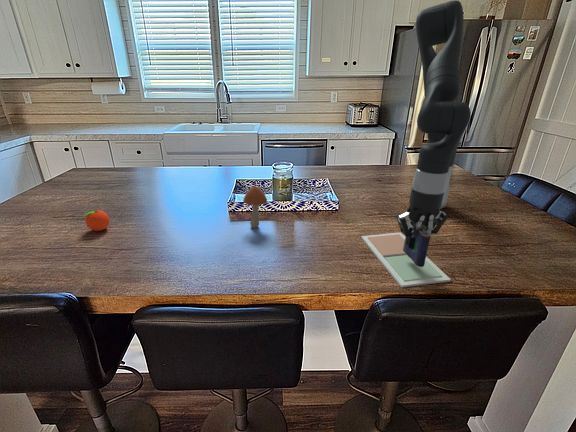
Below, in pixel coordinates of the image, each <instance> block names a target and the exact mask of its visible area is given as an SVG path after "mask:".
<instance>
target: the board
mask: <svg viewBox="0 0 576 432" xmlns="http://www.w3.org/2000/svg"><path fill="white" fill-rule="evenodd" d="M405 237H406V236H405V235H404V234H403V233H402V232H394V233H393V232H392V233H382V234H373V235H372V234H371V235H361V237H360V238H361V239H362V241H363V242H364V243H365V245H367V247H368V249H370V251H371V252H372V253H373V254H374V256H375V257H376V258H377V259H378V260H379V262H380V263H381V265H382V266H383V267H384V268H385V269H386V271H388V273H389V274H390V276H391V277H392V278H393V279H394V280H395V282H396V283H397V284H398V286H399V287H400V288H408V287H414V286H422V285H431V284H439V283H447V282H451V278H450V277H449V276H448V275H447V274H446V273H444V271H442V270H441V268H439V267H438V266H437V265H436V264H435V263H434V262H433V261H432V260H431V259H430V258H429V257H428V256H426V259H425V264H424V266H423V267H419V266H417V265H415V263H414V262H413V261H412V259H411V258H409V257H408V256H407V254H406V253H404V251H403V246H404V241H405Z"/></svg>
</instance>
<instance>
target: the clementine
mask: <svg viewBox="0 0 576 432" xmlns="http://www.w3.org/2000/svg"><path fill="white" fill-rule="evenodd" d="M85 216H86V218H85V224H86V226H87V227H88V228H89V230H92V231H96V232H99V231H104V230H105V229H106V228H107V227H108V226H109V225H110V221H111V220H110V217H109V214H107V213H106V212H105V211H103V210H100V209H99V210H97V209H96V210H92V211H88V212H87V213H85V214H83V216H82V218H81V221H82V220H83V218H84V217H85Z"/></svg>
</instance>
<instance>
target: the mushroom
mask: <svg viewBox="0 0 576 432" xmlns="http://www.w3.org/2000/svg"><path fill="white" fill-rule="evenodd" d="M243 197H244V198H243V200H242V202H243V203H244V204H246V205H248V206H252V210H251V211H252V212H251V219H250V228H252V229H257V228H259V226H260V218H259V208H260V206H261V205H264V204H266V203H267V201H268V199H267V196H266V193H264V191H263V190H262V189H261V188H259V187H258V186H255V185H254V186H252V187H251V188H250V189H248V190H247V192H246V194H245V195H244V196H243Z"/></svg>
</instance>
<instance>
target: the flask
mask: <svg viewBox="0 0 576 432" xmlns="http://www.w3.org/2000/svg"><path fill="white" fill-rule="evenodd" d="M408 223H409V221H408V222H407V224H408ZM407 226H408V225H407ZM408 227H409V226H408ZM431 237H432V235H431V236H430V234H429V233H428V232H427V231H426V230H425V227H424V226H423V225H421V227H420V230H419V231H417V234H416V237H415V238H416V240H415V244H414V249H413V250H410V249H409V248H408V247H407V246H406V240H407V237H406V236H405V241H404V246H403V251H404V253H406V254H407V256H408V257H409V258H411V259H412V261H413V262H414V263H415V265H417V266H419V267H423V266H424V264H425V259H426V257H427V255H428V249H429V245H430V240H431Z"/></svg>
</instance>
